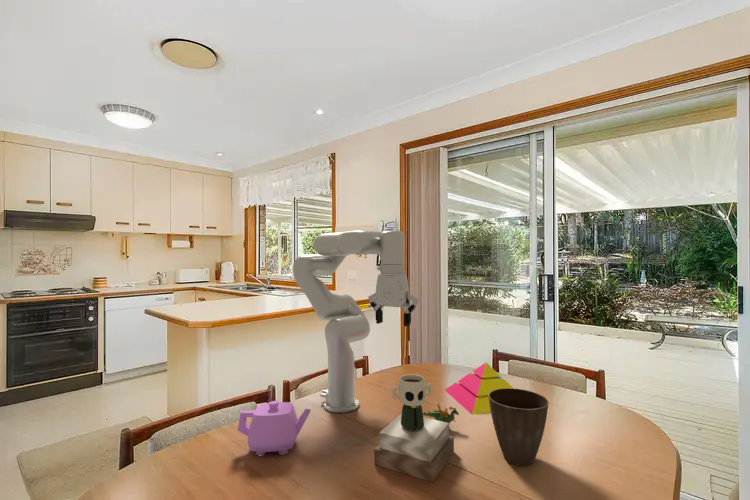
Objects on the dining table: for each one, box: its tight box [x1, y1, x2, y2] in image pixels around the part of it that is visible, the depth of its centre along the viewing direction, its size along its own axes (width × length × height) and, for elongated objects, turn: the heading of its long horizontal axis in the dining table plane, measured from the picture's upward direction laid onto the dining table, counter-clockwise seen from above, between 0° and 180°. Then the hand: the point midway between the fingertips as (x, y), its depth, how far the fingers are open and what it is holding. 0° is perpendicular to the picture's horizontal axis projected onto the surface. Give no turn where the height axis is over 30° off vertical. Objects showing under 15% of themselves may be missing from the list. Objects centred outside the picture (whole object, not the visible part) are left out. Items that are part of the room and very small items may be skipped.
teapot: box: [237, 400, 312, 457], centre depth 107 cm, size 20×12×13 cm, turn 96°
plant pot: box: [488, 387, 549, 467], centre depth 100 cm, size 15×15×16 cm
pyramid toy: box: [444, 361, 515, 416], centre depth 142 cm, size 25×25×14 cm
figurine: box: [423, 402, 460, 431], centre depth 117 cm, size 3×12×8 cm, turn 92°
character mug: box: [391, 373, 432, 430], centre depth 101 cm, size 11×7×13 cm, turn 101°
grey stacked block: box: [373, 413, 455, 483], centre depth 101 cm, size 16×16×8 cm
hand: (392, 324), depth 119 cm, fingers open, 9 cm apart
